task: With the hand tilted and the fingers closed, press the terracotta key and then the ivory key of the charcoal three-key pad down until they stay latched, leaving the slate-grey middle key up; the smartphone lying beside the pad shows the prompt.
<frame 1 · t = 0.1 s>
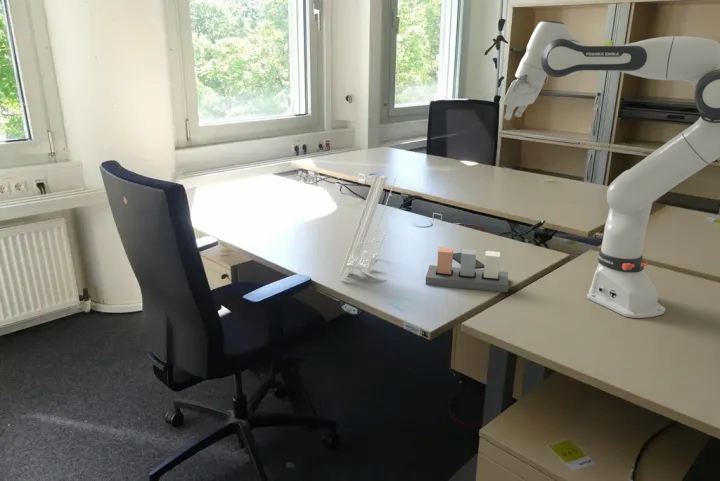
hand: (512, 117, 169), 52 cm above the table, tool tilted 20°, fingers open, 8 cm apart
key terracotta: (445, 260, 175), point 7 cm above the table, slide at 0.0 cm
white display easel: (375, 272, 184), on the table
key slate: (468, 262, 174), point 7 cm above the table, slide at 0.0 cm
key ivory: (491, 264, 172), point 7 cm above the table, slide at 0.0 cm
keypad base: (466, 281, 176), on the table
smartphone: (466, 262, 194), on the table
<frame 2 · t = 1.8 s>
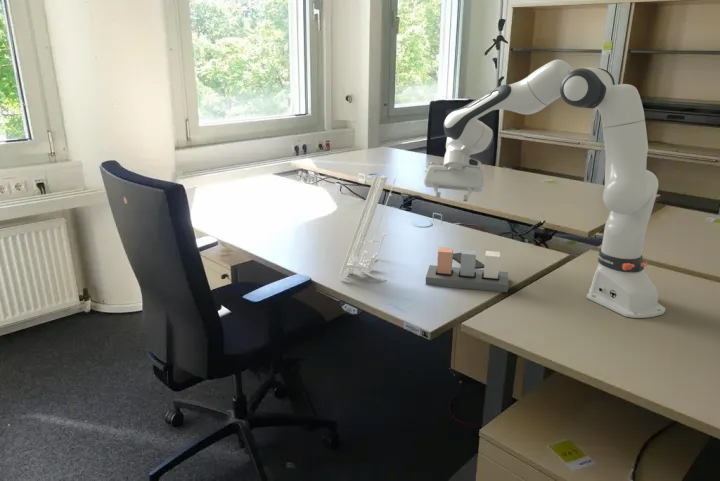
hand: (451, 199, 182), 24 cm above the table, tool tilted 45°, fingers open, 8 cm apart
nothing on the table moved.
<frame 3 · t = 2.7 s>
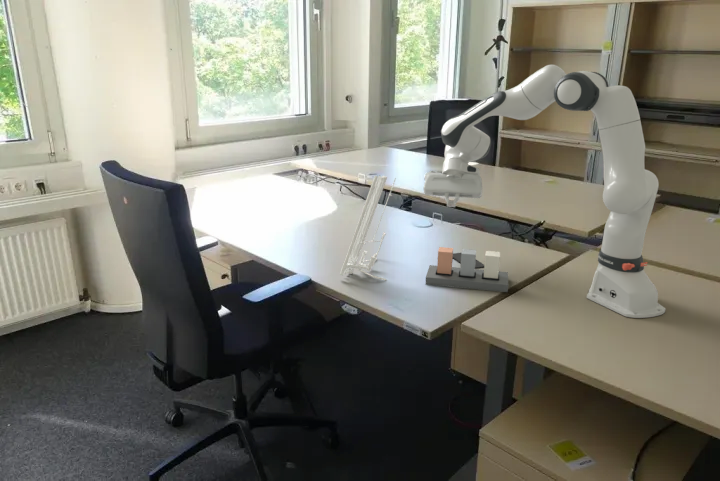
hand: (450, 206, 182), 22 cm above the table, tool tilted 45°, fingers closed
nothing on the table moved.
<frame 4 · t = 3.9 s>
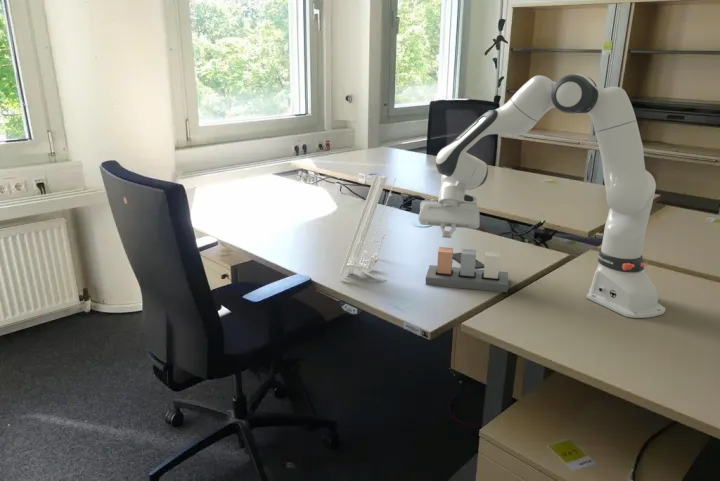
hand: (446, 237, 176), 14 cm above the table, tool tilted 45°, fingers closed
nothing on the table moved.
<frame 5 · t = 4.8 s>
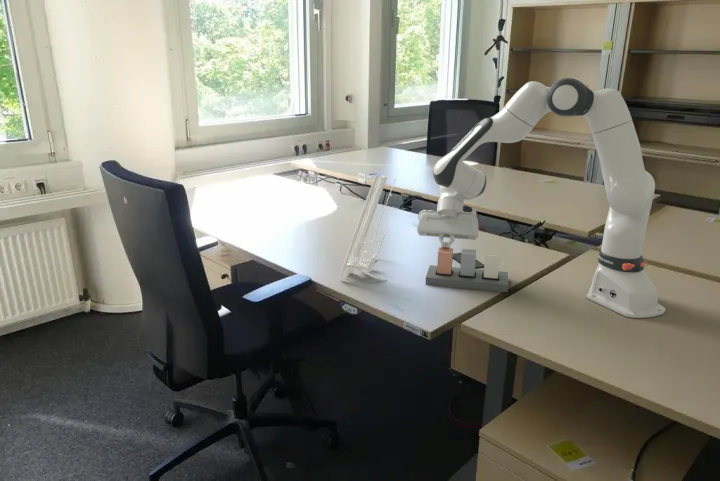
hand: (445, 248, 174), 11 cm above the table, tool tilted 45°, fingers closed, pressing on key terracotta
key terracotta: (445, 260, 175), point 7 cm above the table, slide at 0.1 cm, touching gripper
everything else where it was.
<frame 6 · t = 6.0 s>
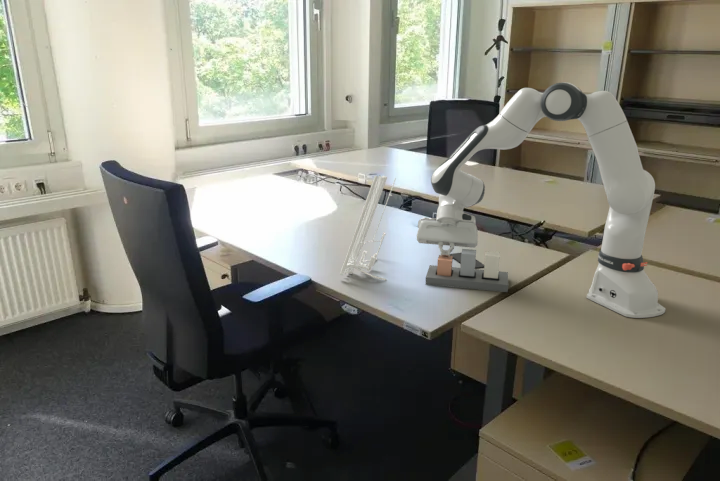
hand: (445, 256, 175), 8 cm above the table, tool tilted 45°, fingers closed, pressing on key terracotta
key terracotta: (444, 268, 176), point 4 cm above the table, slide at 2.8 cm, touching gripper
everything else where it was.
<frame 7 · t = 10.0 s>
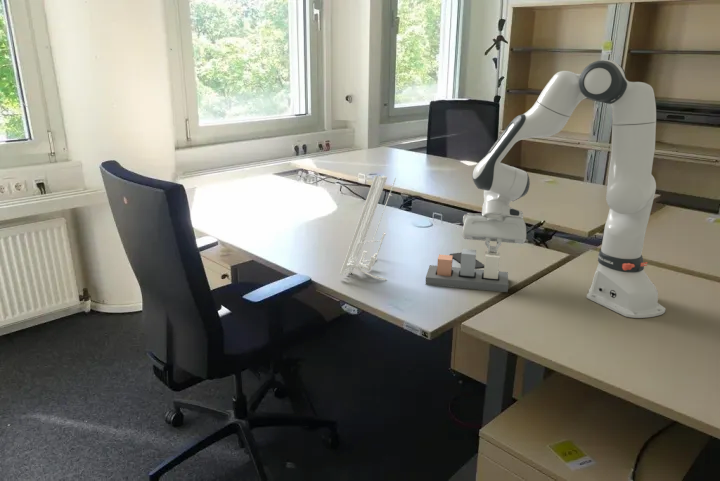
hand: (492, 252, 171), 11 cm above the table, tool tilted 45°, fingers closed, pressing on key ivory
key terracotta: (444, 267, 176), point 4 cm above the table, slide at 2.6 cm
key ivory: (491, 265, 172), point 7 cm above the table, slide at 0.2 cm, touching gripper
everything else where it was.
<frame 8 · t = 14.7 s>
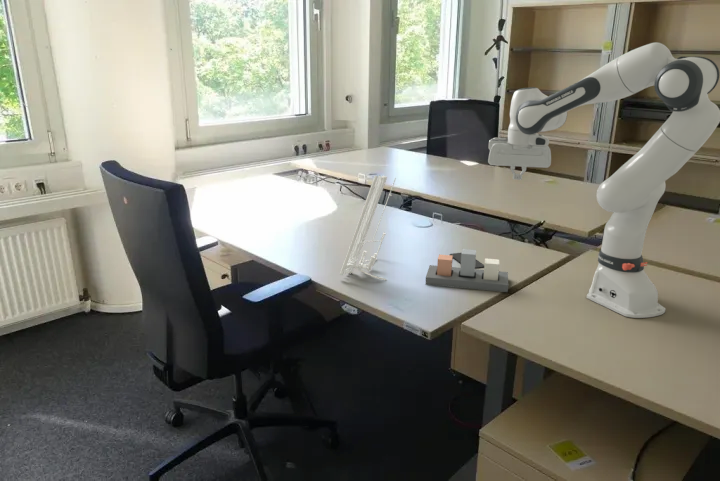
hand: (517, 179, 180), 31 cm above the table, tool pointing down, fingers closed
key ivory: (491, 272, 173), point 4 cm above the table, slide at 2.6 cm
everything else where it was.
at the end: key terracotta slide at 2.6 cm; key ivory slide at 2.6 cm; key slate slide at 0.0 cm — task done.
